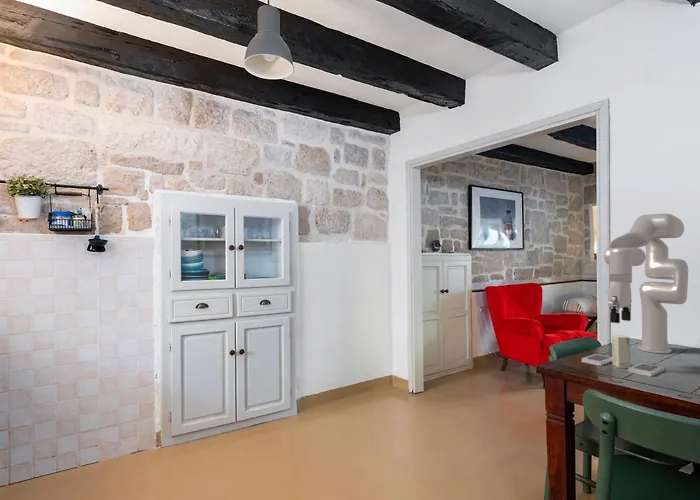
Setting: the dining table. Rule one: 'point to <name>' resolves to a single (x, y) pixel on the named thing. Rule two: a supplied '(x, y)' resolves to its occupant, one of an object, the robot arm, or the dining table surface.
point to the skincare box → (621, 351)
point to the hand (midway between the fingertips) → (620, 321)
